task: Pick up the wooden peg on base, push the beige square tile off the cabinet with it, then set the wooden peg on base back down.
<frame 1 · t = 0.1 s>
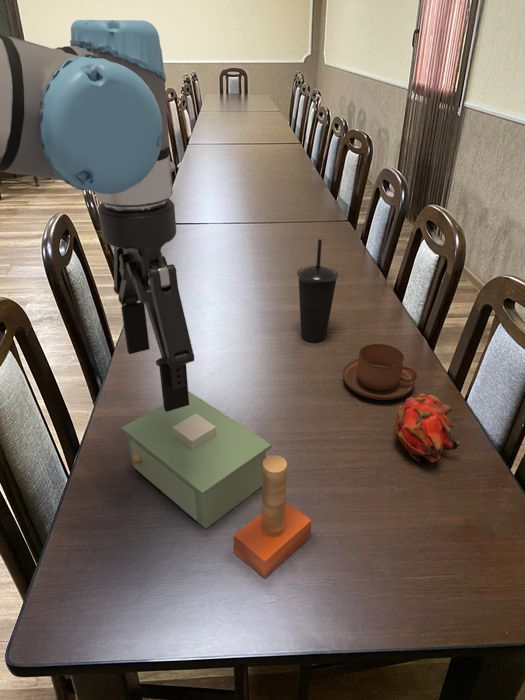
hand: (156, 376, 65), 17 cm above the table, tool pointing down, fingers open, 13 cm apart
cup and saucer: (376, 386, 92), on the table
drinking cup: (313, 337, 106), on the table
beige square tile: (194, 435, 70), point 7 cm above the table, touching cabinet
dragon fruit: (420, 448, 79), on the table
cabinet: (197, 475, 74), on the table
wooden peg on base: (272, 544, 64), on the table
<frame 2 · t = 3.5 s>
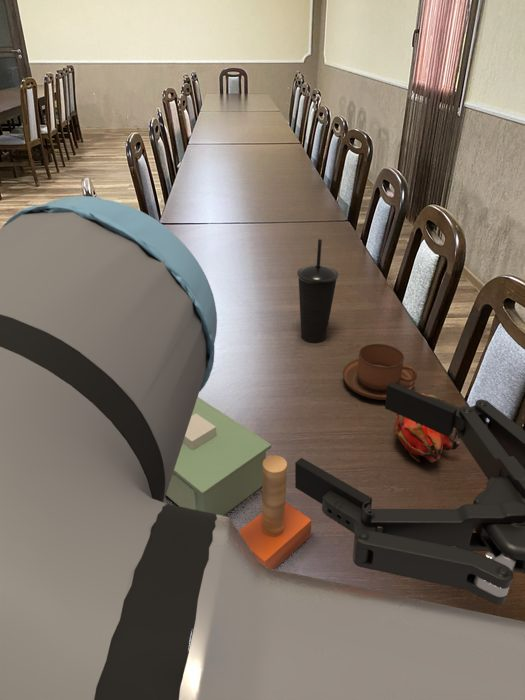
hand: (346, 430, 47), 23 cm above the table, tool horizontal, fingers open, 13 cm apart
nothing on the table moved.
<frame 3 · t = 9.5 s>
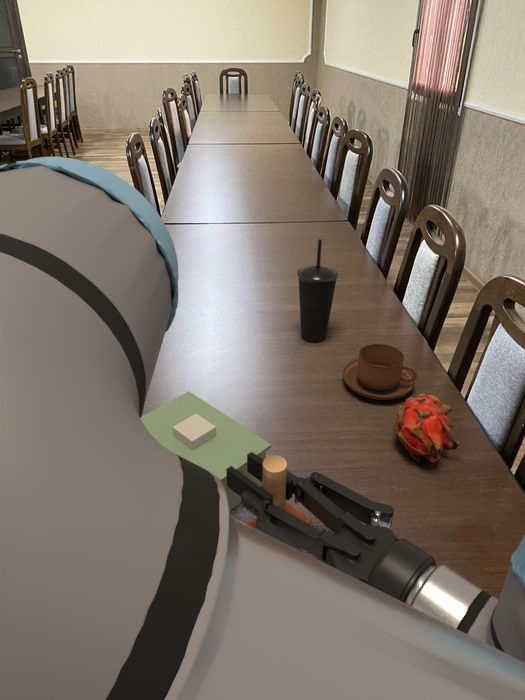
hand: (239, 469, 63), 8 cm above the table, tool horizontal, fingers closed on wooden peg on base, 3 cm apart
wooden peg on base: (272, 544, 64), on the table, touching gripper
everything else where it was.
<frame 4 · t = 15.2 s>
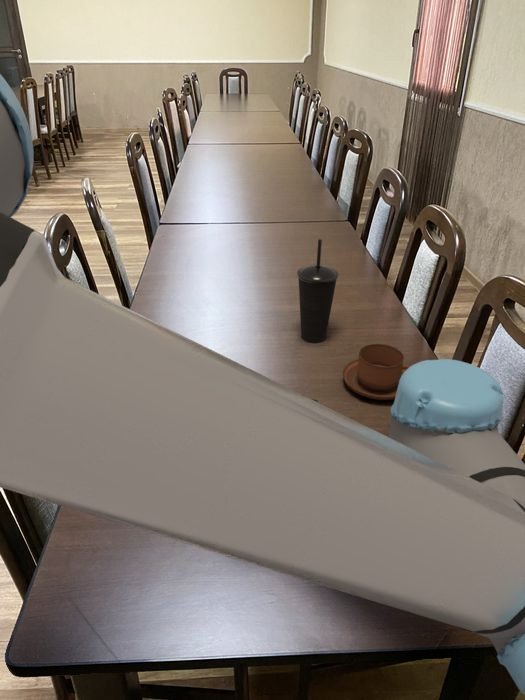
hand: (181, 375, 67), 16 cm above the table, tool horizontal, fingers closed on wooden peg on base, 3 cm apart
beige square tile: (192, 434, 70), point 7 cm above the table, touching wooden peg on base, cabinet
wooden peg on base: (216, 449, 67), point 7 cm above the table, touching cabinet, beige square tile, gripper
everything else where it was.
when the fingers open (8 cm above the table, at t = 28.9 s): wooden peg on base drops 1 cm, on the table.
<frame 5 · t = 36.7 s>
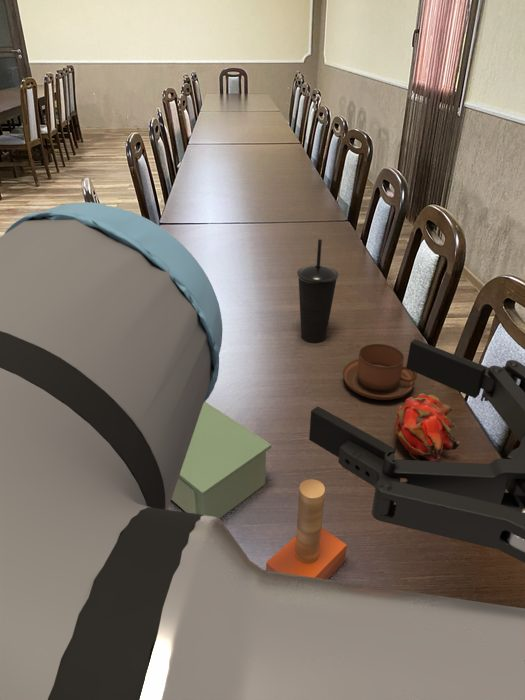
hand: (366, 384, 44), 28 cm above the table, tool horizontal, fingers open, 13 cm apart
beige square tile: (148, 429, 79), point 1 cm above the table, tilted 180°
wooden peg on base: (305, 570, 61), on the table
everything else where it was.
at the end: beige square tile point 1.5 cm above the table; wooden peg on base tilted 0°; the gripper is holding nothing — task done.
